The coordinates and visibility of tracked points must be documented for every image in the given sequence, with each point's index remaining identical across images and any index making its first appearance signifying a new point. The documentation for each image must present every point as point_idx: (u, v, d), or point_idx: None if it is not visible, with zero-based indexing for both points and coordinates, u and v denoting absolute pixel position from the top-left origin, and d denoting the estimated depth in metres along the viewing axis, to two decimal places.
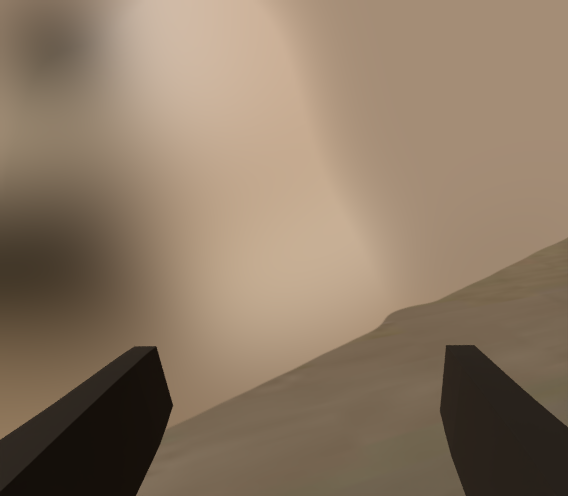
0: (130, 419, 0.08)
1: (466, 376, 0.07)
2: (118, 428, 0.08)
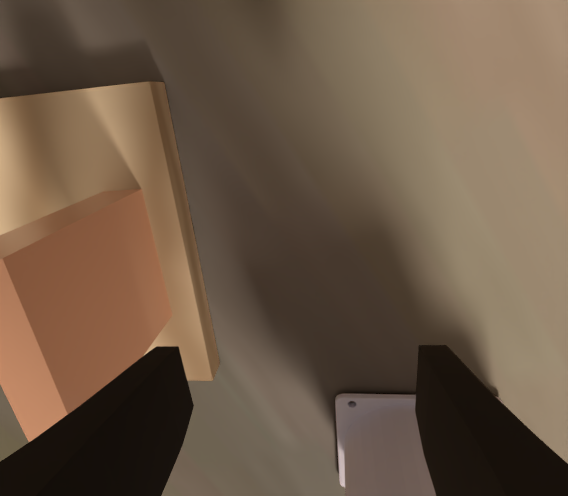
0: (155, 420, 0.08)
1: (434, 376, 0.07)
2: (144, 429, 0.08)
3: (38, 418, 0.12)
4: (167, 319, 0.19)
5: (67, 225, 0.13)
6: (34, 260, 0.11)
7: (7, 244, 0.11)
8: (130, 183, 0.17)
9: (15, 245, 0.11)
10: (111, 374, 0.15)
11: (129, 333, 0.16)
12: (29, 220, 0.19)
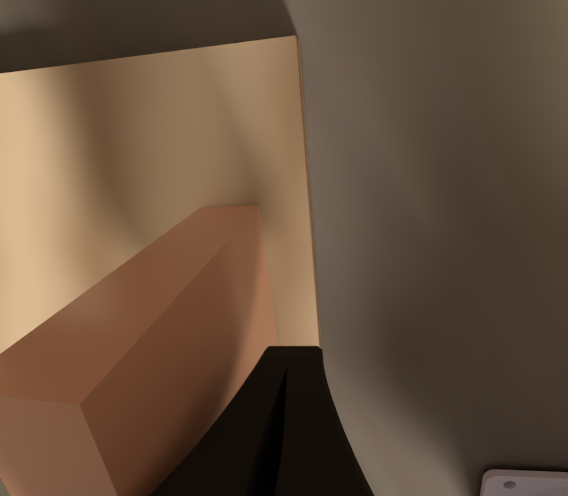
0: None
1: None
2: (282, 433, 0.07)
3: None
4: None
5: (182, 288, 0.07)
6: (136, 379, 0.05)
7: (82, 341, 0.06)
8: (245, 195, 0.12)
9: (99, 348, 0.05)
10: None
11: None
12: (87, 247, 0.13)
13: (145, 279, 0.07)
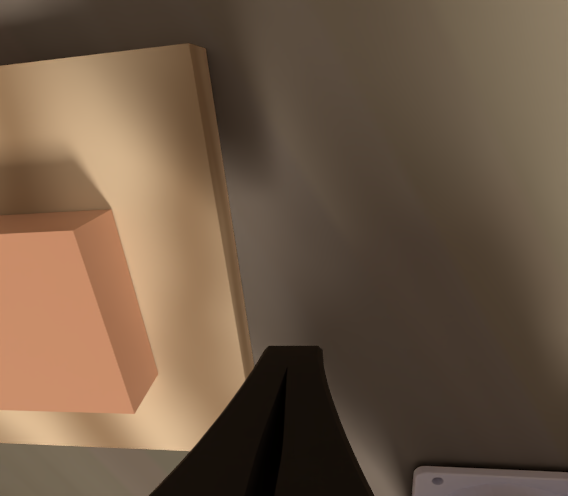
0: None
1: None
2: (281, 433, 0.07)
3: None
4: (119, 411, 0.13)
5: None
6: None
7: None
8: (154, 197, 0.12)
9: None
10: None
11: (21, 377, 0.13)
12: None
13: None
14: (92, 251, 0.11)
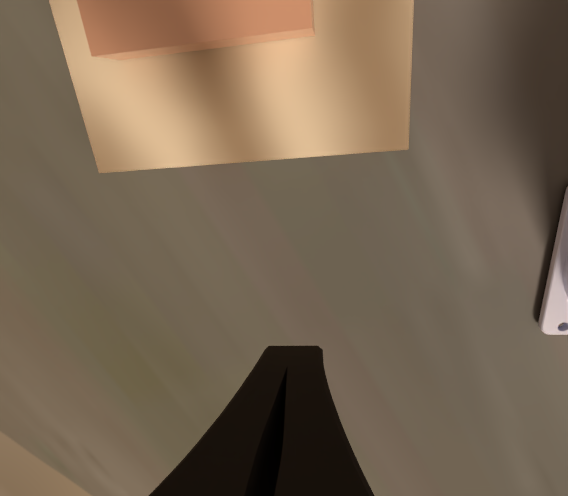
0: None
1: None
2: (282, 433, 0.07)
3: None
4: (294, 26, 0.12)
5: None
6: None
7: None
8: None
9: None
10: (148, 20, 0.13)
11: None
12: None
13: None
14: None
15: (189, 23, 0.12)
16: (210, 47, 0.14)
